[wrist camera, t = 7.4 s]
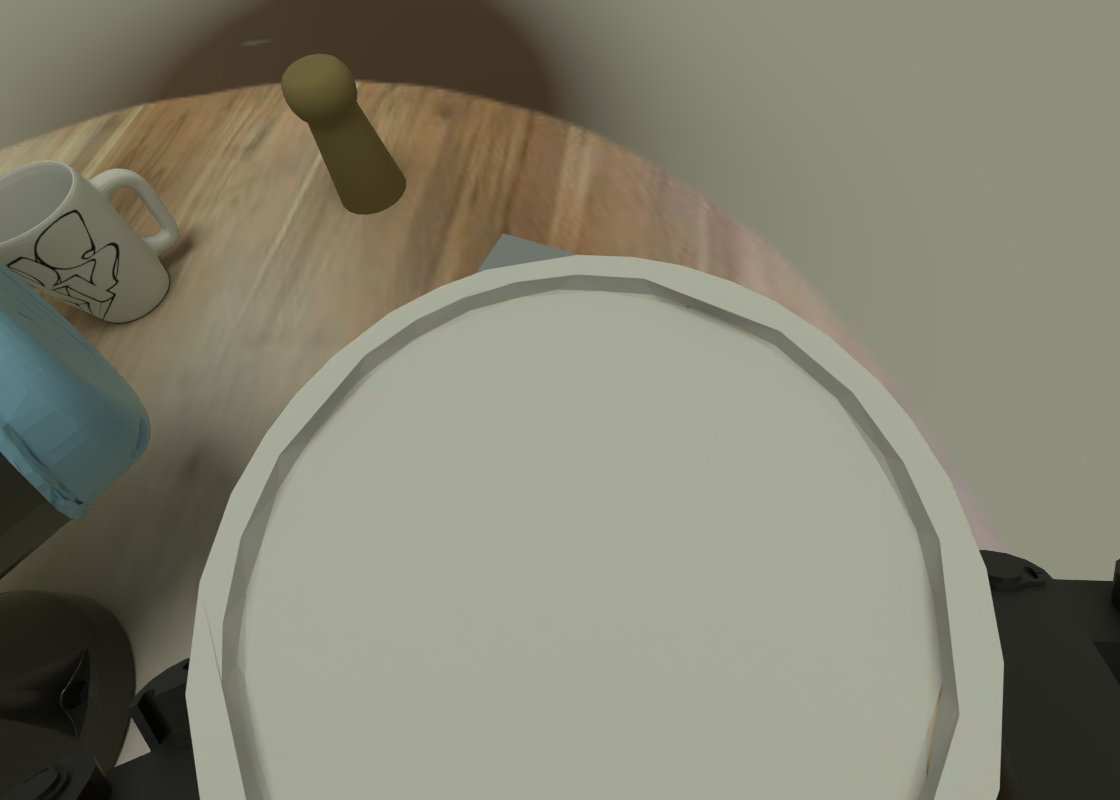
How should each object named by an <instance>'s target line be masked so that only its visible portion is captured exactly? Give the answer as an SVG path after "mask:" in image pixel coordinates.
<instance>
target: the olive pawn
mask: <svg viewBox="0 0 1120 800" xmlns="http://www.w3.org/2000/svg"><path fill="white" fill-rule="evenodd" d="M282 91H283V94H284V97H285V99H286V102H287V104H288V105H289V107H290V108H291V110H292V111H293V112H294V113H295V114H296V115H297V116H298V117H299V118H300V119H302V120H303V121H305V122H307V123H308V125H309V127H310V129H311V132H312V134H313V136H314V139H315V141H316V143H317V146H318V148H319V150H320V152H321V155H322V157H323V159H324V162H325V164H326V166H327V169H328V171H329V173H330V175H331V178H332V180H333V182H334V185H335V187H336V189H337V192H338V194H339V196H340V198H341V201H342V203H343V205H344V207H345V208H346V209H348V210H349V211H350V212H353V213H356V214H371V213H376V212H380V211H382V210H384V209H386V208H388V207H390V206H391V205H393V204H394V203H395V202H397V201H398V199H399V198H400V197H401V196H402V195H403V192H404V190H405V188H406V179H405V178H404V176H403V174H402V172H401V171H400V169H399V168H398V166H397V165H396V163H395V161H394V160H393V158H392V157H391V155H390V154H389V152H388V150H387V149H386V147H385V146H384V144H383V143H382V141H381V139H380V138H379V136H378V135H377V133H376V132H375V130H374V128H373V127H372V125H371V124H370V122H369V121H368V119H367V117H366V116H365V114H364V113H363V111H362V110H361V108H360V107H359V105H358V103H357V102H356V100H357V89H356V84H355V81H354V79H353V77H352V75H351V73H350V71H349V70H348V69H347V67H346V66H345V64H343V63H342V62H341V61H340V60H338V59H337V58H335V57H334V56H331V55H326V54H314V55H309V56H306V57H303V58H301V59H299V60H297V61H296V62H294V63H293V64H291V65H290V67H288V68H287V70H286V71H285V73H284V75H283V76H282Z"/></svg>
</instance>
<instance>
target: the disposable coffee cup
mask: <svg viewBox="0 0 1120 800" xmlns="http://www.w3.org/2000/svg"><path fill="white" fill-rule="evenodd" d="M1003 675H1004V660H1003V655H1002V650H1001V644H1000V639H999V634H998V628H997V623H996V617H995V612H994V607H993V601H992V596H991V590H990V585H989V580H988V574H987V569H986V566H985V564H984V561H983V559H982V556H981V554H980V552H979V549H978V547H977V544H976V542H975V539H974V537H973V534H972V532H971V529H970V527H969V524H968V522H967V519H966V517H965V515H964V512H963V510H962V507H961V505H960V502H959V500H958V497H957V495H956V492H955V490H954V487H953V485H952V483H951V480H950V479H949V477H948V476H947V474H946V473H945V471H944V469H943V468H942V466H941V465H940V463H939V462H938V460H937V459H936V457H935V455H934V454H933V452H932V451H931V449H930V448H929V446H928V445H927V443H926V441H925V440H924V438H923V437H922V435H921V434H920V432H919V431H918V429H917V427H916V426H915V424H914V423H913V421H912V420H911V418H910V417H909V416H908V415H907V414H906V412H905V411H904V410H903V409H902V408H901V407H900V405H899V404H898V403H897V402H896V401H895V399H894V398H893V397H892V396H891V395H890V394H889V392H888V391H887V390H886V389H885V388H884V386H883V385H882V384H881V383H880V382H879V381H878V380H877V379H876V378H875V377H874V376H873V375H872V374H870V373H869V372H868V371H867V370H866V369H865V368H864V367H863V366H861V365H860V364H859V363H858V362H857V361H856V360H855V359H854V358H853V357H851V356H850V355H849V354H848V353H847V352H846V351H845V350H844V349H842V348H841V347H840V346H839V345H838V344H837V343H836V342H835V341H833V340H832V339H831V338H830V337H829V336H828V335H827V334H825V333H824V332H822V331H821V330H819V329H817V328H816V327H814V326H813V325H811V324H809V323H808V322H806V321H805V320H803V319H802V318H800V317H798V316H797V315H795V314H794V313H792V312H791V311H789V310H787V309H786V308H784V307H783V306H781V305H779V304H778V303H776V302H775V301H773V300H771V299H769V298H767V297H764V296H762V295H760V294H758V293H756V292H753V291H751V290H749V289H747V288H745V287H742V286H740V285H738V284H736V283H734V282H731V281H728V280H725V279H722V278H719V277H716V276H713V275H710V274H707V273H704V272H701V271H697V270H694V269H691V268H688V267H685V266H681V265H676V264H670V263H664V262H659V261H653V260H647V259H641V258H636V257H616V256H589V255H574V256H568V257H561V258H555V259H549V260H542V261H536V262H530V263H524V264H518V265H512V266H506V267H500V268H494V269H488V270H484V271H482V272H479V273H476V274H474V275H471V276H468V277H466V278H463V279H460V280H457V281H455V282H452V283H449V284H447V285H444V286H441V287H439V288H437V289H435V290H433V291H431V292H429V293H427V294H425V295H423V296H421V297H419V298H417V299H415V300H413V301H412V302H410V303H408V304H406V305H404V306H402V307H400V308H398V309H396V310H394V311H392V312H390V313H389V314H387V315H386V316H385V317H383V318H382V319H381V320H380V321H378V322H377V323H376V324H374V325H373V326H372V327H371V328H369V329H368V330H367V331H365V332H364V333H363V334H361V335H360V336H359V337H358V338H356V339H355V340H354V341H352V342H351V343H350V344H348V345H347V346H346V347H345V348H343V349H342V350H341V351H339V352H338V353H337V354H335V355H334V356H333V357H332V358H331V359H330V360H329V361H328V362H327V363H326V364H325V365H324V366H323V367H322V368H321V369H320V370H319V371H318V372H317V373H316V374H315V375H314V376H313V377H312V378H311V379H310V380H309V381H308V382H307V383H306V384H305V385H304V386H303V387H302V388H301V389H300V390H299V391H298V392H297V393H296V394H295V396H294V397H293V398H292V400H291V401H290V402H289V404H288V405H287V406H286V408H285V409H284V410H283V412H282V413H281V414H280V416H279V417H278V418H277V420H276V421H275V422H274V424H273V425H272V426H271V428H270V429H269V430H268V432H267V433H266V434H265V436H264V438H263V439H262V441H261V443H260V445H259V446H258V448H257V450H256V451H255V453H254V455H253V457H252V458H251V460H250V462H249V464H248V465H247V467H246V469H245V470H244V472H243V474H242V476H241V477H240V479H239V481H238V482H237V484H236V486H235V488H234V489H233V491H232V493H231V495H230V498H229V501H228V503H227V506H226V509H225V512H224V515H223V518H222V520H221V523H220V526H219V529H218V532H217V534H216V537H215V540H214V543H213V546H212V548H211V551H210V554H209V557H208V560H207V563H206V565H205V568H204V571H203V574H202V577H201V579H200V582H199V590H198V598H197V606H196V614H195V622H194V630H193V638H192V646H191V654H190V662H189V670H188V679H187V687H186V702H187V709H188V717H189V724H190V731H191V738H192V745H193V753H194V760H195V767H196V774H197V781H198V788H199V796H200V800H996V799H997V796H998V793H999V790H1000V763H1001V734H1002V704H1003Z"/></svg>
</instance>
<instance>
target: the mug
mask: <svg viewBox="0 0 1120 800" xmlns="http://www.w3.org/2000/svg"><path fill="white" fill-rule="evenodd" d="M122 187H130V188H132V189H133V190H134V191H135V192H136V193H137V195H138V196H139V197H140V198H141V200H142V201H143V202H144V204H145V205H146V206H147V208H148V209H149V210H150V212H151V213H152V214H153V216H154V217H155V218H156V219H157V221H158V222H159V224H160V226H161V230H160V232H159V233H158V234H156V235H154V236H151V237H141V236H139V235H138V234H137V233H136V232H135V231H134V230H133V229H132V228H131V227H130V225H129V224H128V223H127V222H126V221H125V220H124V219H123V218H122V217H121V216H120V214H119V213H118V212H117V211H116V210H115V208H114V207H113V205H112V203H111V196H112V194H113V193H114V192H115V191H116V190H118V189H119V188H122ZM178 235H179V229H178V226H177V224H176V222H175V220H174V219H173V217H172V216H171V215H170V213H169V212H168V211H167V209H166V208H165V206H164V204H163V203H162V201H161V200H160V198H159V196H158V195H157V193H156V192H155V190H154V189H153V188H152V187H151V185H150V184H149V183H148V182H147V181H146V180H145V179H144V178H142V177H141V176H140V175H138V174H137V173H135V172H132V171H130V170H126V169H110V170H107V171H105V172H103V173H101V174H99V175H97V176H96V177H94V178H93V179H90V180H87V179H85V178H84V177H82V176H81V175H80V174H79V173H78V172H76V171H75V170H74V169H73V168H71V167H70V166H68V165H66V164H64V163H61V162H58V161H40V162H34V163H30V164H26V165H23V166H20V167H17V168H15V169H13V170H10V171H8V172H6V173H4V174H2V175H0V261H1V262H2V263H3V264H5V265H6V266H7V267H8V268H9V269H11V270H12V271H13V272H14V273H15V274H17V275H18V276H19V277H20V278H21V279H22V280H23V281H25V282H26V283H27V284H28V285H30V286H32V287H34V288H36V289H38V290H40V291H42V292H44V293H46V294H48V295H50V296H52V297H54V298H56V299H58V300H61V301H63V302H65V303H67V304H69V305H71V306H74V307H76V308H78V309H80V310H82V311H85V312H87V313H89V314H91V315H93V316H95V317H98V318H100V319H103V320H105V321H109V322H114V323H123V322H128V321H132V320H135V319H137V318H140V317H142V316H143V315H145V314H147V313H148V312H150V311H151V310H152V309H154V308H155V307H156V306H157V305H158V304H159V303H160V302H161V300H162V299H163V298H164V296H165V294H166V292H167V290H168V286H169V277H168V274H167V272H166V270H165V269H164V267H163V266H162V264H161V263H160V261H159V259H158V255H159V254H160V253H162V252H163V251H165V250H167V249H168V248H170V247H171V246H172V245H173V244H174V243H175V242H176V240H177V238H178Z"/></svg>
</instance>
